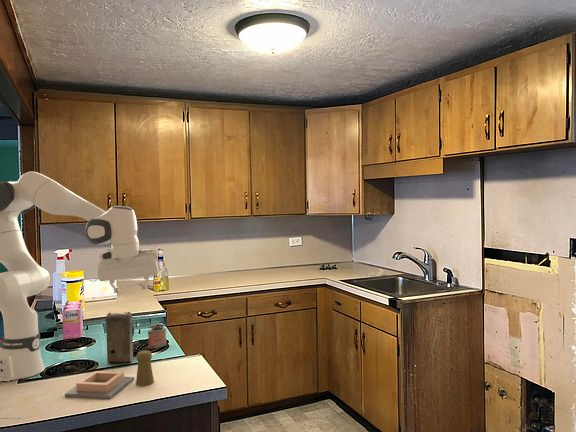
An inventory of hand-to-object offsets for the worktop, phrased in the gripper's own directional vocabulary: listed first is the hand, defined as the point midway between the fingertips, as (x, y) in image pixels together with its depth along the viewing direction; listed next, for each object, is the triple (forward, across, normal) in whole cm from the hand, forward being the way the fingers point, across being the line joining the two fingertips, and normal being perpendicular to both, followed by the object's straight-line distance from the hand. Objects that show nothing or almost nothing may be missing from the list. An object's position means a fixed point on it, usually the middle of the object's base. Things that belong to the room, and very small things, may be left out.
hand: (130, 290), depth 164 cm
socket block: (+31, +12, +4) cm, 34 cm away
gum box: (+28, +43, -71) cm, 88 cm away
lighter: (+32, -1, -39) cm, 50 cm away
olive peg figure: (+32, -2, +2) cm, 33 cm away
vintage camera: (+31, +11, -27) cm, 43 cm away
